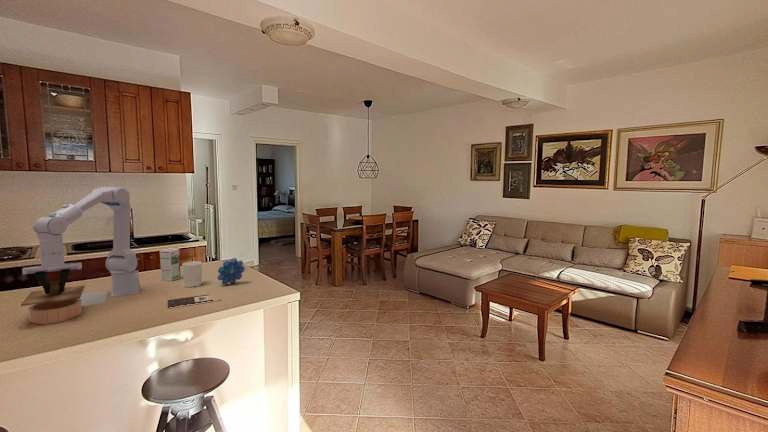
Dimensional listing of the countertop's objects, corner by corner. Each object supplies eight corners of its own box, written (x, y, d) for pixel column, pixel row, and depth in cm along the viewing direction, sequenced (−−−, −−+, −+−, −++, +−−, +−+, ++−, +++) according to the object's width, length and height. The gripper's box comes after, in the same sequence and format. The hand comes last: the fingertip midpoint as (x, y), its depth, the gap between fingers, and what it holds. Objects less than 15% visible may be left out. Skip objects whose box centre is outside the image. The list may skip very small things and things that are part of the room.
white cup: (189, 288, 154) (188, 266, 153) (179, 285, 158) (178, 263, 157) (206, 284, 161) (205, 262, 160) (196, 281, 165) (195, 260, 164)
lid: (84, 286, 130) (83, 274, 129) (79, 298, 118) (79, 284, 118) (31, 293, 122) (30, 280, 121) (21, 306, 110) (19, 291, 110)
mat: (107, 291, 148) (107, 291, 148) (104, 303, 134) (104, 302, 134) (52, 299, 138) (52, 298, 138) (43, 312, 124) (43, 311, 124)
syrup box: (171, 281, 165) (170, 250, 163) (160, 280, 166) (159, 249, 165) (181, 278, 170) (179, 248, 169) (170, 277, 172) (169, 247, 170)
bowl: (83, 307, 130) (83, 295, 129) (79, 318, 119) (78, 305, 119) (34, 314, 122) (33, 301, 122) (25, 327, 112) (24, 313, 111)
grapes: (243, 280, 168) (242, 255, 167) (246, 283, 162) (245, 258, 161) (216, 283, 162) (215, 257, 161) (218, 287, 156) (217, 260, 155)
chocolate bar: (167, 300, 137) (218, 293, 147) (167, 302, 138) (218, 295, 147) (168, 307, 130) (221, 299, 139) (168, 309, 130) (221, 301, 139)
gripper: (18, 257, 111) (21, 299, 112) (79, 252, 119) (81, 291, 121) (23, 253, 117) (27, 293, 118) (81, 249, 125) (83, 286, 126)
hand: (55, 292), depth 120 cm, fingers closed on lid, 3 cm apart
